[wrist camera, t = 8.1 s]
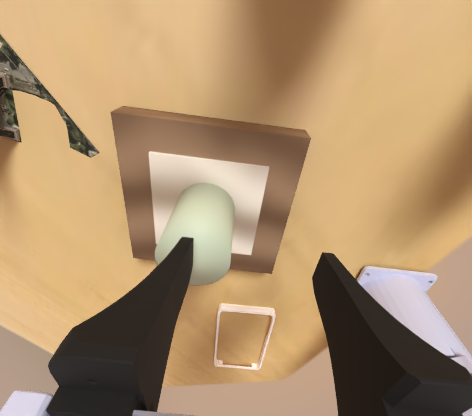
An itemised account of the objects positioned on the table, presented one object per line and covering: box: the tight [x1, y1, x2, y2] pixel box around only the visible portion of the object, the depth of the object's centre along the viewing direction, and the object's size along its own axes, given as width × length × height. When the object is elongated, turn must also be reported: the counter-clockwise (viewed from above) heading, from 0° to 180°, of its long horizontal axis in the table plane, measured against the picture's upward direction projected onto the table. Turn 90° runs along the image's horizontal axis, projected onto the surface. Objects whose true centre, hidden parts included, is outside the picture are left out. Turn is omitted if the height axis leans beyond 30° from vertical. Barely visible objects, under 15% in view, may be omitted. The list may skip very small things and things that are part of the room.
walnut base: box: [111, 106, 311, 274], centre depth 22 cm, size 14×14×2 cm
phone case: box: [214, 303, 275, 370], centre depth 35 cm, size 7×1×15 cm
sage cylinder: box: [155, 183, 235, 285], centre depth 18 cm, size 5×5×6 cm
